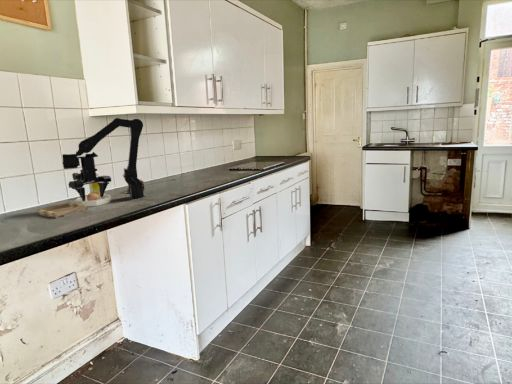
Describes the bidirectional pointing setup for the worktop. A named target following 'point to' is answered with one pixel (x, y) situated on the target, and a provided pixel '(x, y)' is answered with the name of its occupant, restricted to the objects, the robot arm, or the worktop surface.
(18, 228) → the worktop surface
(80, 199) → the bowl
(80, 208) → the tray
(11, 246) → the worktop surface
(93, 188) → the supplement bottle
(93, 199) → the ball
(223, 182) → the worktop surface
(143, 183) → the pottery mug
